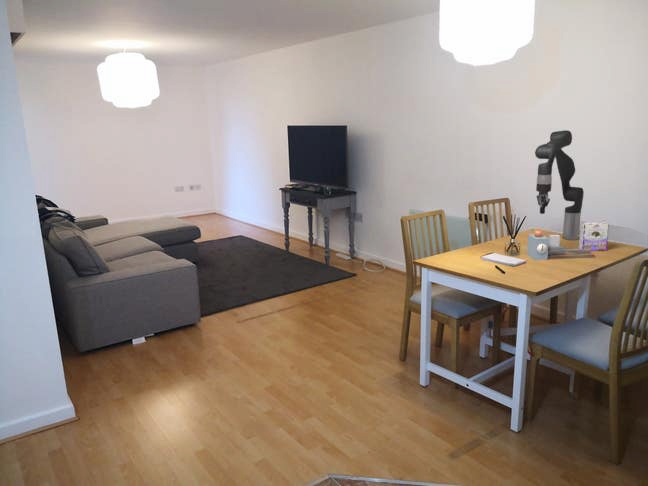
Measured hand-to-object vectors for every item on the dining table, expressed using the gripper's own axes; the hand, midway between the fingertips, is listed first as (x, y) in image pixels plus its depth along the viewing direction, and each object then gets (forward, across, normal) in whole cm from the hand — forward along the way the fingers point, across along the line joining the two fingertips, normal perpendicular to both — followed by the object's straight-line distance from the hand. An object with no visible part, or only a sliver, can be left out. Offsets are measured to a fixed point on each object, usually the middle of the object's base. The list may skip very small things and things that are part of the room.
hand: (542, 213), depth 278 cm
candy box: (+26, -11, +35) cm, 45 cm away
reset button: (+13, +1, -2) cm, 13 cm away
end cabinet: (+25, +1, -2) cm, 25 cm away
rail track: (+25, +1, +15) cm, 29 cm away
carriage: (+21, +1, +7) cm, 22 cm away
